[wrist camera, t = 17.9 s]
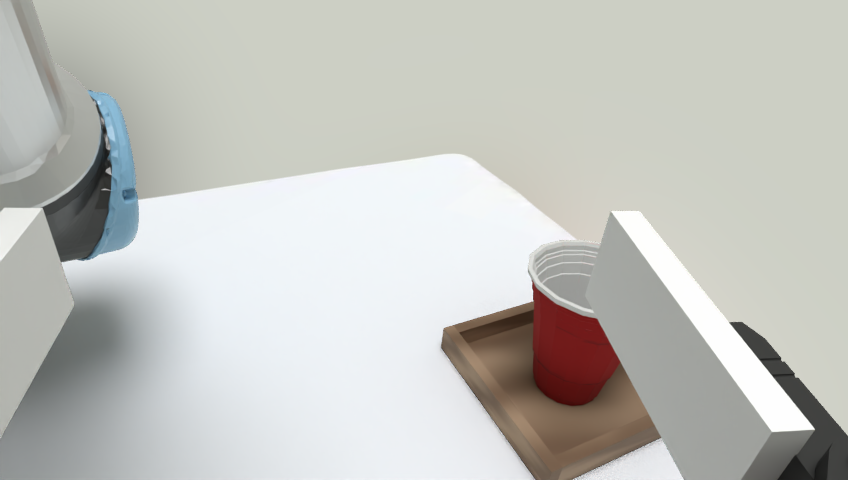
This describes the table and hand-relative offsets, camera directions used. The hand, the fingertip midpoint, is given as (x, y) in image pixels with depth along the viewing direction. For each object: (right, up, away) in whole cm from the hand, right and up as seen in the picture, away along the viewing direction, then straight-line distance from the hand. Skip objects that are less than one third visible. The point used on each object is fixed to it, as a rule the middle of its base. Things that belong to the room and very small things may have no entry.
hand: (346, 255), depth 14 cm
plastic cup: (+14, -12, +37) cm, 42 cm away
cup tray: (+14, -12, +38) cm, 42 cm away
